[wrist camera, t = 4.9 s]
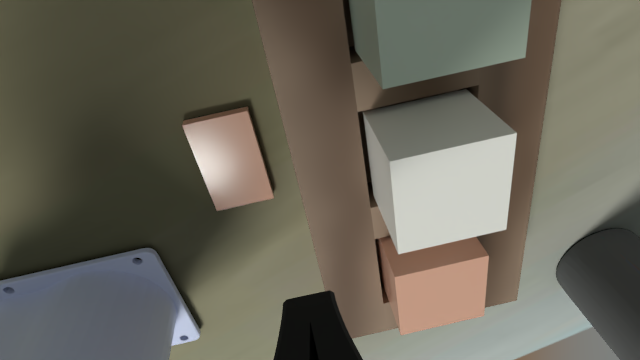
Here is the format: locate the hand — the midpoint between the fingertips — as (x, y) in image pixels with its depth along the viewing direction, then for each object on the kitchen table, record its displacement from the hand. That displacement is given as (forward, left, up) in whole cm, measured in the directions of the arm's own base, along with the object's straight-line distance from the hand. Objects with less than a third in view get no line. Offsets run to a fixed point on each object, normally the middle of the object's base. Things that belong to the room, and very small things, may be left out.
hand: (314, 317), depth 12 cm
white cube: (+6, 0, -8) cm, 10 cm away
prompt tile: (-3, 0, -10) cm, 11 cm away
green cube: (+6, +7, -8) cm, 12 cm away
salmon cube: (+6, -7, -9) cm, 13 cm away
